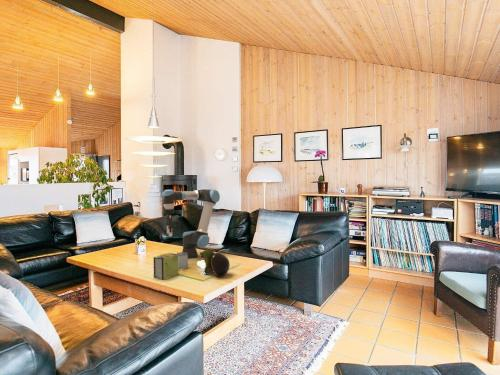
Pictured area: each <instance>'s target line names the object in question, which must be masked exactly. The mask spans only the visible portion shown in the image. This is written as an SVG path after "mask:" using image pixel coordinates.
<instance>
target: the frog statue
mask: <svg viewBox="0 0 500 375" xmlns="http://www.w3.org/2000/svg"><path fill="white" fill-rule="evenodd" d="M199 255H200V257H201V258H202V259H204V263H205V267H204V269H203V273H204V272H205V273H208V274H210V273H212V271H214V272H213V273H214V274H215V276H216V277H220V278H221V277H224V276H225V275H227V274H228V272H229V270H230V264H231V263H230V261H229V258H228V257H227V256H226V255H225V254H223V253H221V252H214V251H213V250H211V249H204V250H203V251H200V252H199ZM208 274H207V275H208Z"/></svg>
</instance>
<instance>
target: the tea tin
mask: <svg viewBox="0 0 500 375" xmlns="http://www.w3.org/2000/svg"><path fill="white" fill-rule="evenodd" d="M176 254H178V271H180V269H182V270H187V269H186V268H189V261H188V260H189V258H188V253H187V252H182V251H180V252H176Z"/></svg>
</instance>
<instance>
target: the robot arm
mask: <svg viewBox="0 0 500 375" xmlns="http://www.w3.org/2000/svg"><path fill="white" fill-rule="evenodd" d="M220 197H221V195H220V193H219V191H218V190H217V189H213V188H212V189H196V190H195V189H194V190H193V191H191V190H189V191H188V190H185V191H181V190H178V191H177V190H175V191H174V189H165V190H164V191H162V193H161V199H162V200H163V208H164V210H163V212H164V215H166V234H167V235H168V237H173V216H172V215H173V214H175V202H177V201H184V200H193V201H199V202H203V208H202V212H201V215H200V220H199V222H198V228H197V230H191V231H190V230H189V231H185V232H183V233H182V251H181V252H187V253H188V259H194V258H197V257H198V256H199V254H198V250H197V248H201V249H202V248H206V247H207V246H208V245H209V244H210V236H209V232H208V229H209V225H210V221H211V218H212V213H213V209H214V207H215V206H216V203H218V202H219V201H220V199H221V198H220Z"/></svg>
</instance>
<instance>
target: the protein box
mask: <svg viewBox="0 0 500 375" xmlns="http://www.w3.org/2000/svg"><path fill="white" fill-rule="evenodd" d="M178 275H179V269H178V254H177V253H174V252H166V253H163V254H160V255H156V256H153V278H154V279H158V280H162V281H164V280H168V279H170V278H173V277H175V276H178Z"/></svg>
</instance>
